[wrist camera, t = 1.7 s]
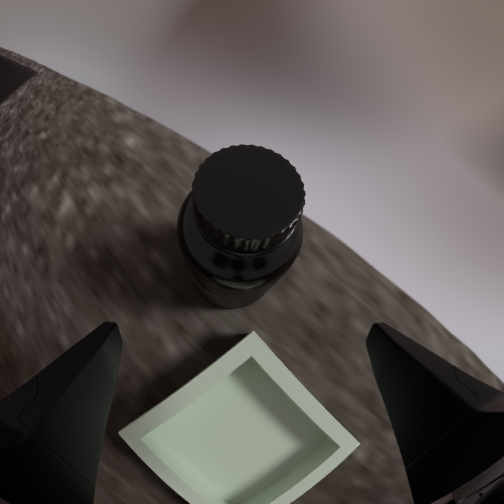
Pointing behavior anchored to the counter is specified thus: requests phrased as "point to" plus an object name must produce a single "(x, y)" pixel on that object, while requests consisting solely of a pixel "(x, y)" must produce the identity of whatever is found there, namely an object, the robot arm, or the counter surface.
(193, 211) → the supplement bottle
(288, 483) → the mint green square tray
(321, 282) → the counter surface
